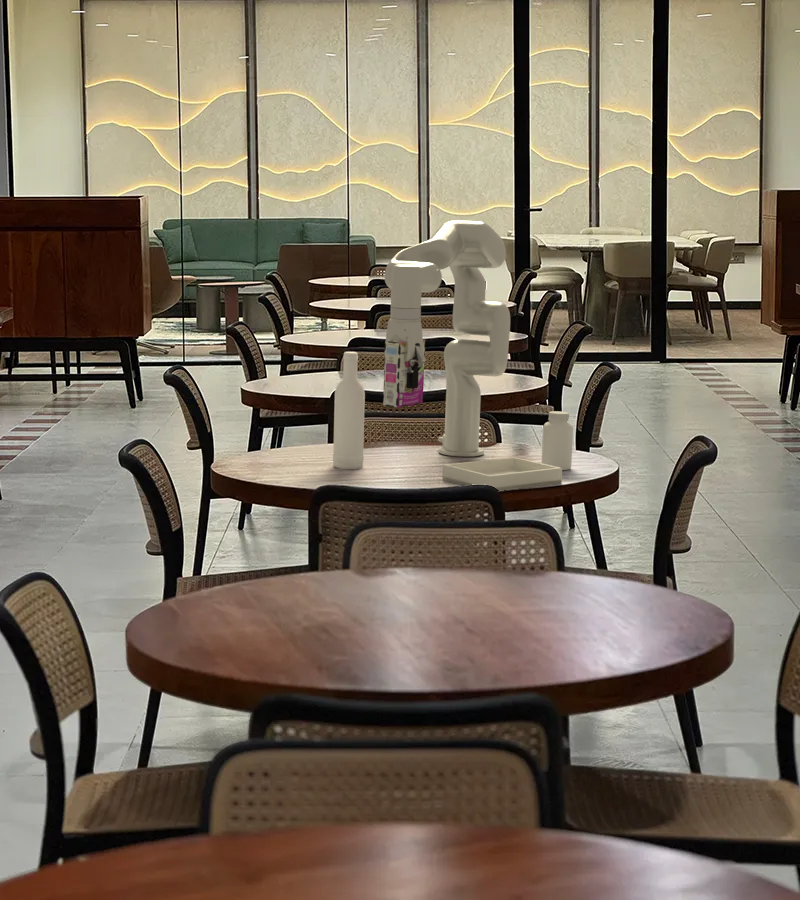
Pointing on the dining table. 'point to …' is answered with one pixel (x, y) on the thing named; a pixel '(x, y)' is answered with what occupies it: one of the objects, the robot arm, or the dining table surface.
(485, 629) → the dining table surface
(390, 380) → the candy bar box
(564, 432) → the pill bottle
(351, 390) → the bottle
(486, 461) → the tray
